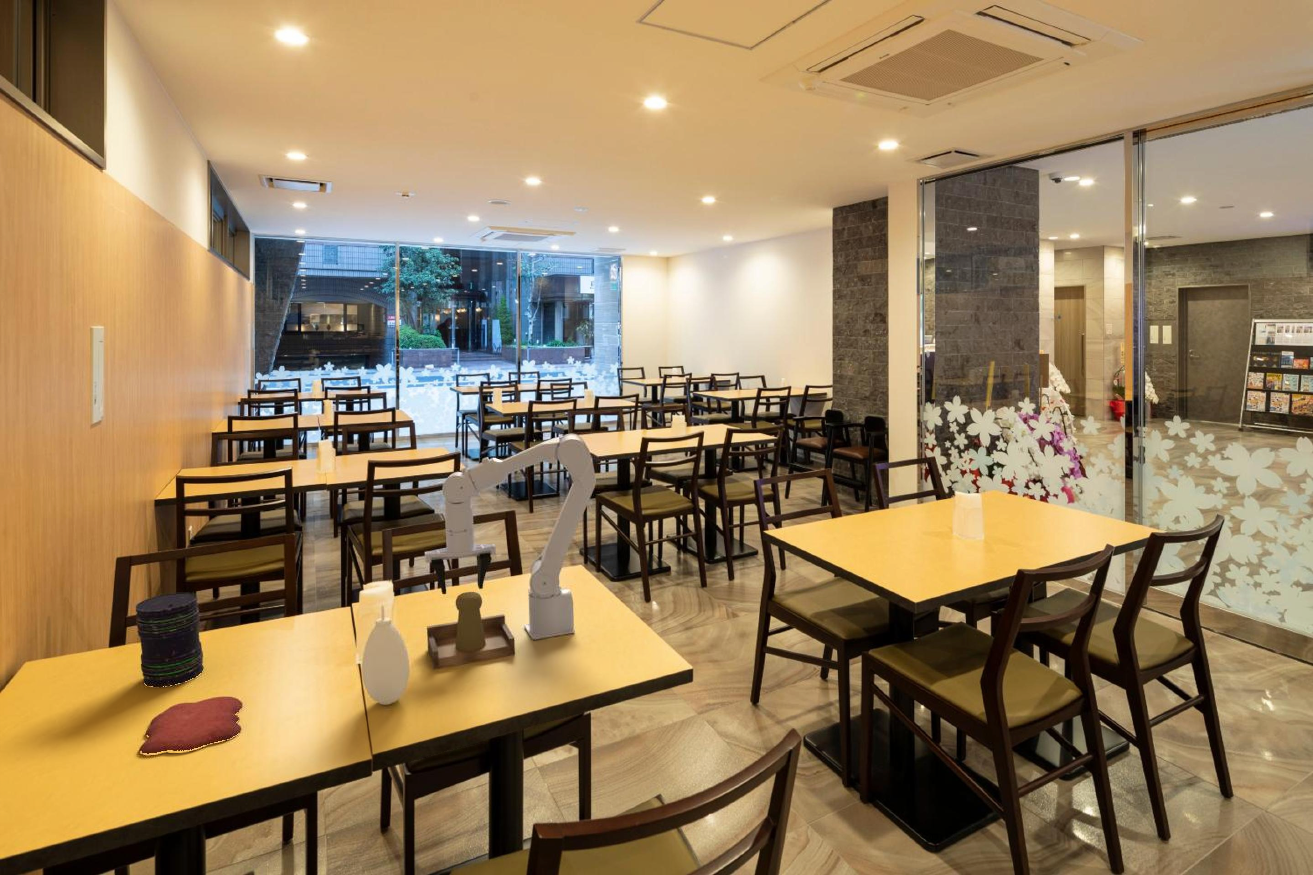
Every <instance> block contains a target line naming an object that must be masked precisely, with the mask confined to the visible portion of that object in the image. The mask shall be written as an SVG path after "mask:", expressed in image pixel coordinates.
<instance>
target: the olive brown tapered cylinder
mask: <svg viewBox="0 0 1313 875" xmlns="http://www.w3.org/2000/svg"><path fill="white" fill-rule="evenodd" d="M482 605H483V598H482V596H481V594H480V593H478V592H476V591H466V592H462V593H460V594H459V595H457V597H456V599H455V607H456V609H457V611H458V615H457V616H458V618H457V622H458V625H457V635H456V646H455V648H456V649H457V650H458V651H461V652H472V651H477V650H480V649H482V648H484V647H485V645H486V642H485V636H484V631H483V625H482V619H481V618H482V614H481V611H480V610H481V608H482Z"/></svg>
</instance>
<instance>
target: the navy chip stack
mask: <svg viewBox="0 0 1313 875" xmlns="http://www.w3.org/2000/svg"><path fill="white" fill-rule="evenodd" d="M135 612H136V616H135V617H136V620H135V621H136V626H137V627H136V628H137V631H136V632H137V634H138V636H139V638H140V649H141V655H140V669H141V670H140V671H141V672H142V677H143V679H142V682H144V683H145V684H146V685H147V686H153V687H163V686H164V688H166V687H165V686H170V685H175V684H178V683H183V682H185V681H188V680H190V679H192V678H195V677H196V676H198V675H199V674H200V673H202V671H203V669H204V665H203V663H204V651H203V648H202V642H201V641H200V632H199V630H200V629H199V626H200V620H201V619H200V617H199V616H200V610H199V605H198V595H197V594H195V593H192V592H174V593H168V594H165V593H164V594H161V595H156V596H153V597H150V598H146V599H144V600H142V601H140V602H139V603H137V604H136V605H135ZM204 670H205V669H204ZM203 672H204V671H203ZM202 674H203V673H202ZM198 677H199V676H198ZM195 679H196V678H195ZM188 682H189V681H188ZM144 683H143V684H144ZM183 684H184V683H183ZM147 686H146V687H147ZM175 686H176V685H175Z"/></svg>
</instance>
